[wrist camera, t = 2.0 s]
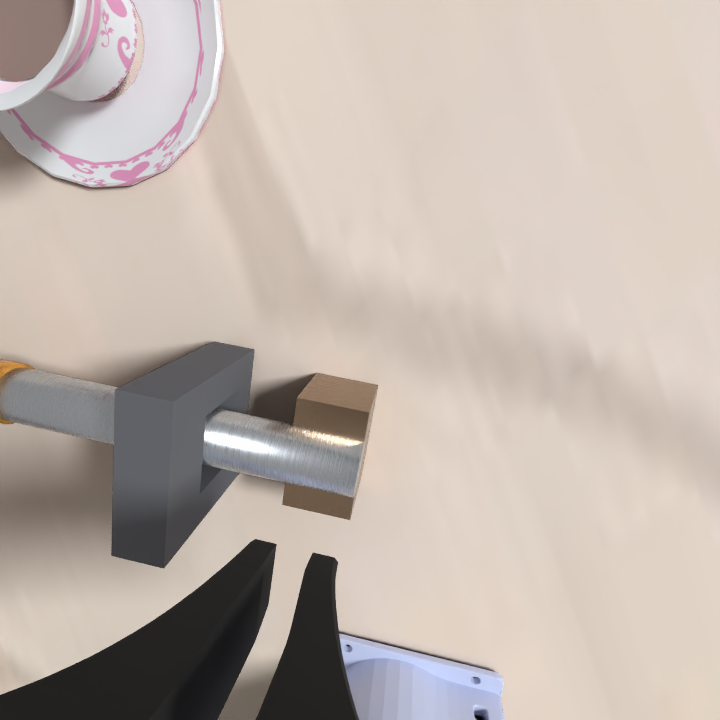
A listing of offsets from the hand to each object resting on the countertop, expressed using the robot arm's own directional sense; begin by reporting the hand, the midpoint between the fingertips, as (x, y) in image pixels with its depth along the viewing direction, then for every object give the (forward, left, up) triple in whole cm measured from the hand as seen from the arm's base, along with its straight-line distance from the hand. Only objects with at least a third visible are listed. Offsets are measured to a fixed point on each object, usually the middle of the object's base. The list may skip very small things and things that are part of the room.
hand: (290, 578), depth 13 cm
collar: (+6, 0, -10) cm, 12 cm away
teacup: (+14, -15, -11) cm, 23 cm away
